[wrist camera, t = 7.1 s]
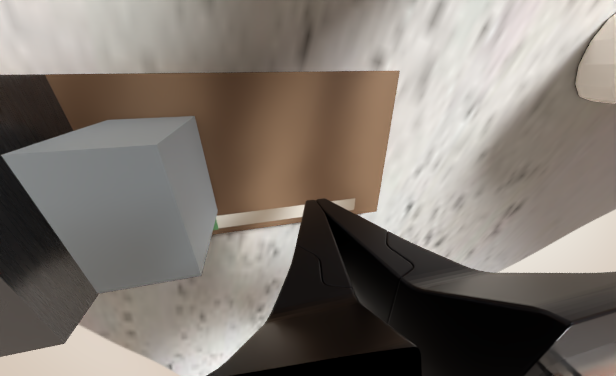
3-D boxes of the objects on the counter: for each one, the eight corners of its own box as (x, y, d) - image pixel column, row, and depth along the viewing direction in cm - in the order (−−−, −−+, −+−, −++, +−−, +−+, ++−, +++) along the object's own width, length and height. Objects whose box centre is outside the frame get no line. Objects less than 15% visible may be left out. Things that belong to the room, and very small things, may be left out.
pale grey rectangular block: (194, 115, 12) (156, 144, 7) (223, 234, 15) (210, 304, 11) (107, 120, 11) (1, 154, 6) (160, 243, 15) (117, 322, 10)
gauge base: (390, 70, 14) (400, 70, 13) (370, 204, 19) (377, 212, 18) (-17, 75, 10) (-46, 75, 9) (88, 242, 15) (77, 254, 14)
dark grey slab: (45, 74, 10) (-193, 77, 5) (131, 246, 14) (64, 343, 9) (-27, 75, 9) (-382, 79, 4) (87, 252, 14) (-10, 358, 9)
